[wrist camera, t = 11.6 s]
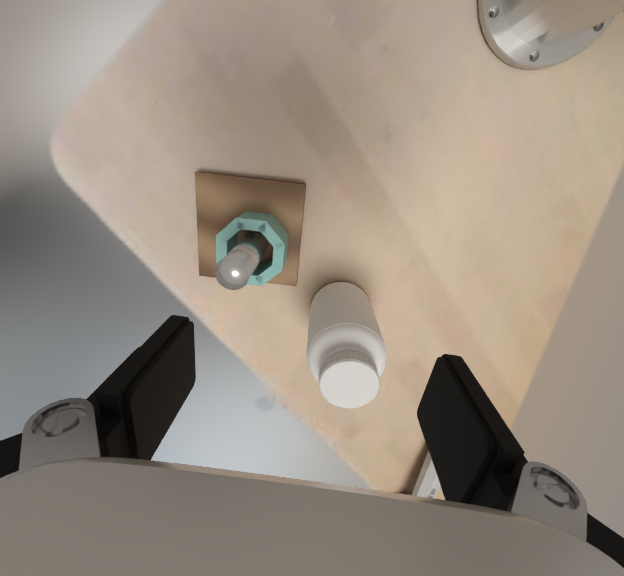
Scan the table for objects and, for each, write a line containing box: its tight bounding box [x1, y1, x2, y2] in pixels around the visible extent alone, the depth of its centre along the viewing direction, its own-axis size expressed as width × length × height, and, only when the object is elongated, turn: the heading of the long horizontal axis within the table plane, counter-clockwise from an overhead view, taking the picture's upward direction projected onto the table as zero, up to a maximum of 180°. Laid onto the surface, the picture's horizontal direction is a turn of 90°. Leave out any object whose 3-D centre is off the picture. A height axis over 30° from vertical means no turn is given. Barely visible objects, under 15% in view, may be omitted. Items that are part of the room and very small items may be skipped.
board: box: [195, 172, 306, 286], centre depth 35 cm, size 12×12×1 cm
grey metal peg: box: [215, 231, 269, 290], centre depth 30 cm, size 3×3×11 cm
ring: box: [216, 211, 289, 286], centre depth 33 cm, size 7×7×4 cm
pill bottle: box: [307, 282, 387, 408], centre depth 32 cm, size 8×8×15 cm
